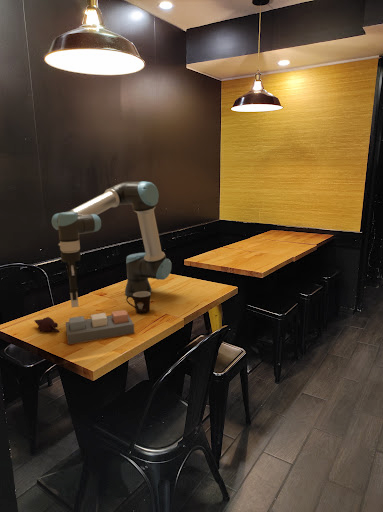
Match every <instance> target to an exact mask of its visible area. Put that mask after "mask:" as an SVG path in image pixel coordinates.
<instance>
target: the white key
mask: <svg viewBox="0 0 383 512" xmlns="http://www.w3.org/2000/svg"><path fill="white" fill-rule="evenodd" d="M106 316H107V315H106V312H102V313H101V312H100V313H94V314H90V318H91V324H92V327H98V326H104V325H107V317H106Z"/></svg>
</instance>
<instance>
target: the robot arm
mask: <svg viewBox="0 0 383 512" xmlns="http://www.w3.org/2000/svg"><path fill="white" fill-rule="evenodd" d="M159 194H160V193H159V190H158V188H157V186H156V185H155V184H154V183H153V182H151V181H144V180H143V181H140V180H139V181H124V182H120V183H117V184H116V185H113V186H111V187H109V188H107V189H105V191H104V193H102V194H100V195H97V196H95V197H93V198H92V199H90V200H88V201H86V202H84V203H82V204H80V205H78V206H77V207H74V208H72V209H70V210H68V211H65V212H64V211H63V212H58V213H54V214H53V216H52V218H51V225H52V227H53V228H54V229H55V230H56V231H57V232H58V240H59V243H57V244H58V246H59V250H60V251H61V252H60V259H61V260H60V261H61V262H63V263H67V264H66V266H65V267H66V271H67V276H68V281H69V291H68V293H69V294H70V303H71V308H79V295H78V292H79V287H78V283H77V276H78V272H77V270H78V265H77V263H76V262H79V261H81V251H80V250H81V245H80V235H84V234H90V233H94V232H98V231H99V230H100V229H101V227H102V220H101V218H100V216H99V215H100V214H101V213H104V212H105V211H107V210H109V209H110V208H117V207H118V206H122V205H129V206H130V205H131V206H132V210H133V212H135V213H136V214H137V219H138V223H139V224H138V225H139V229H140V232H141V238H142V242H143V246H144V252H138V253H132V254H129V255H127V256H126V260H125V261H126V262H125V264H126V276H127V277H126V278H127V281H126V286H125V288H124V295H125V296H127V297H128V296H132V297H133V294H134V293H136V292H141V291H146V292H150V293H151V294H152V292H153V291H152V290H153V289H152V287H151V284H150V281H149V279H155V280H158V281H159V280H160V281H161V280H162V281H164V280H166V279H167V278H168V277H169V275H170V274H171V272H172V264H173V263H172V262H171V261H172V260H170V259H169V258H167V257H166V254H165V252H164V251H162V245H161V242H160V236H159V229H158V225H157V220H156V216H155V209H156V207H157V204H158V202H159V197H160V195H159Z"/></svg>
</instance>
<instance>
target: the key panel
mask: <svg viewBox="0 0 383 512" xmlns="http://www.w3.org/2000/svg"><path fill="white" fill-rule="evenodd" d="M106 317H107V325H104V326H98V327H92V324H91V317H90V318H84V319H85V327H86V329H80V330H73V331H70V323H69V321H65V331H66V337H67V339H66V340H67V345H73V344H79V343H86V342H90V341H97V340H102V339H108V338H114V337H120V336H124V335H130V334H135V324H134V322H133V320H132V318H131V317H130V315H129V314H128V322H123V323H117V324H114V323H113V321H112V314H111V315H106Z"/></svg>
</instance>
